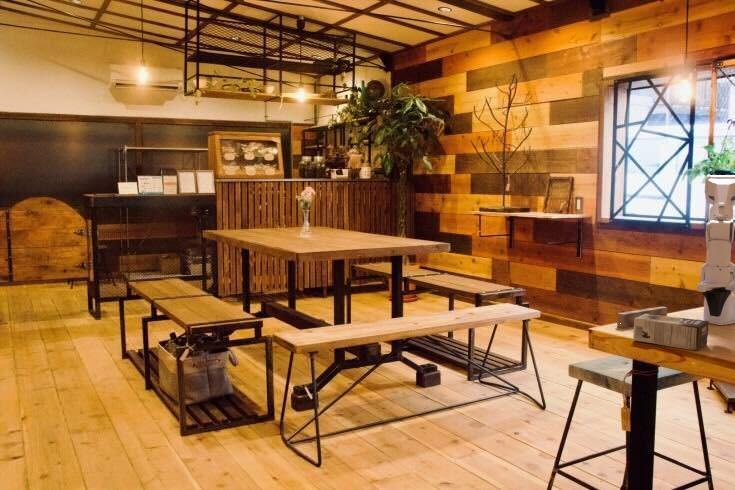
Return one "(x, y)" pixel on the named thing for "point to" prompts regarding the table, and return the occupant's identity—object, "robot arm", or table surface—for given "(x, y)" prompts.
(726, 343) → the table surface
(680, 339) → the coffee box
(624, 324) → the walnut board
